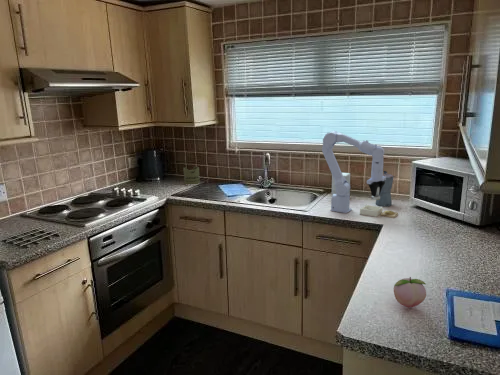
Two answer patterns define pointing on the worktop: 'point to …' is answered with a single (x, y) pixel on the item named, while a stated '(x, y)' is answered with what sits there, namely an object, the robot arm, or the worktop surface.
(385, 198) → the moka pot
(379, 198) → the coffee tamper
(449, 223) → the worktop surface
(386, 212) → the stud block
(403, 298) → the decorative fruit
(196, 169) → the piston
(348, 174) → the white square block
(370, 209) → the tray
